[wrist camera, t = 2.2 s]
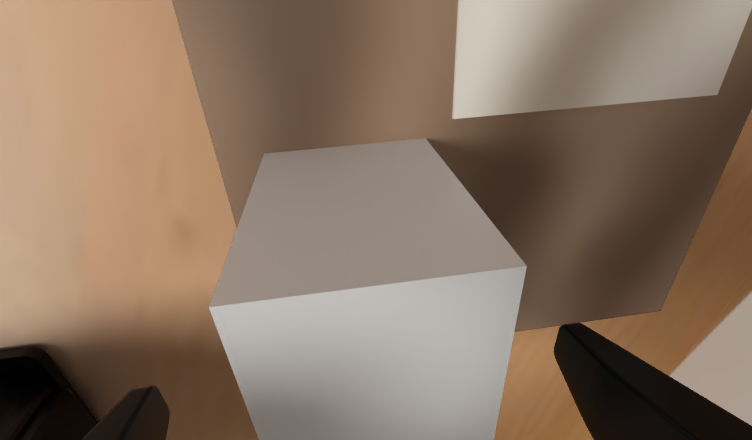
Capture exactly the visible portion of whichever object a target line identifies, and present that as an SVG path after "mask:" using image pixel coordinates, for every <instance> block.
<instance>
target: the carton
mask: <svg viewBox="0 0 752 440" xmlns="http://www.w3.org/2000/svg"><path fill="white" fill-rule="evenodd" d="M526 268H527V266H526V264H525V263H524V262H523V261H522V259H521V258H520V257H519V256H518V254H517V253H516V252H515V251H514V249H513V248H512V247H511V245H510V244H509V243H508V242H507V240H506V239H505V238H504V237H503V235H502V234H501V233H500V232H499V230H498V229H497V228H496V227H495V225H494V224H493V223H492V221H491V220H490V219H489V218H488V216H487V215H486V214H485V213H484V211H483V210H482V209H481V208H480V206H479V205H478V204H477V203H476V201H475V200H474V199H473V197H472V196H471V195H470V194H469V192H468V191H467V190H466V189H465V187H464V186H463V185H462V184H461V182H460V181H459V180H458V179H457V177H456V176H455V175H454V174H453V172H452V171H451V170H450V168H449V167H448V166H447V165H446V163H445V162H444V161H443V160H442V158H441V157H440V156H439V155H438V153H437V152H436V151H435V150H434V148H433V147H432V146H431V144H430V143H429V142H428V141H427V139H426V138H422V139H412V140H401V141H391V142H381V143H370V144H360V145H349V146H339V147H328V148H318V149H308V150H297V151H287V152H276V153H266V154H264V155H263V158H262V161H261V163H260V166H259V169H258V172H257V175H256V177H255V180H254V183H253V186H252V188H251V191H250V194H249V197H248V200H247V202H246V205H245V208H244V211H243V213H242V216H241V219H240V222H239V225H238V227H237V230H236V233H235V236H234V239H233V241H232V244H231V247H230V250H229V252H228V255H227V258H226V261H225V264H224V266H223V269H222V272H221V275H220V277H219V280H218V283H217V286H216V289H215V291H214V294H213V297H212V300H211V303H210V305H209V309H210V312H211V315H212V317H213V320H214V323H215V325H216V328H217V330H218V333H219V336H220V338H221V341H222V344H223V346H224V349H225V352H226V354H227V357H228V360H229V362H230V365H231V367H232V370H233V373H234V375H235V378H236V381H237V383H238V386H239V389H240V391H241V394H242V397H243V399H244V402H245V405H246V407H247V410H248V412H249V415H250V418H251V420H252V423H253V426H254V428H255V431H256V434H257V436H258V439H259V440H494V437H495V431H496V426H497V421H498V415H499V410H500V405H501V400H502V394H503V389H504V384H505V379H506V373H507V368H508V363H509V358H510V352H511V347H512V342H513V337H514V331H515V326H516V321H517V315H518V310H519V305H520V300H521V294H522V289H523V284H524V279H525V273H526Z"/></svg>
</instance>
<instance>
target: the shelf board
mask: <svg viewBox="0 0 752 440" xmlns="http://www.w3.org/2000/svg"><path fill="white" fill-rule="evenodd" d="M172 3H173V6H174V10H175V13H176V17H177V20H178V24H179V27H180V31H181V34H182V38H183V41H184V45H185V48H186V52H187V55H188V59H189V62H190V66H191V69H192V73H193V76H194V80H195V83H196V87H197V90H198V94H199V97H200V101H201V104H202V108H203V111H204V115H205V118H206V122H207V125H208V129H209V132H210V136H211V139H212V143H213V146H214V150H215V153H216V157H217V160H218V164H219V167H220V171H221V174H222V178H223V181H224V185H225V188H226V192H227V195H228V199H229V202H230V206H231V209H232V213H233V216H234V220H235V223H236V227H238V225H239V222H240V219H241V216H242V213H243V211H244V208H245V205H246V202H247V200H248V197H249V194H250V191H251V188H252V186H253V183H254V180H255V177H256V175H257V172H258V169H259V166H260V163H261V161H262V158H263V155H264V154H266V153H276V152H287V151H297V150H308V149H318V148H328V147H339V146H349V145H360V144H370V143H381V142H391V141H401V140H412V139H422V138H426V139H427V141H428V142H429V143H430V144H431V146H432V147H433V148H434V150H435V151H436V152H437V153H438V155H439V156H440V157H441V158H442V160H443V161H444V162H445V163H446V165H447V166H448V167H449V168H450V170H451V171H452V172H453V174H454V175H455V176H456V177H457V179H458V180H459V181H460V182H461V184H462V185H463V186H464V187H465V189H466V190H467V191H468V192H469V194H470V195H471V196H472V197H473V199H474V200H475V201H476V203H477V204H478V205H479V206H480V208H481V209H482V210H483V211H484V213H485V214H486V215H487V216H488V218H489V219H490V220H491V221H492V223H493V224H494V225H495V227H496V228H497V229H498V230H499V232H500V233H501V234H502V235H503V237H504V238H505V239H506V240H507V242H508V243H509V244H510V245H511V247H512V248H513V249H514V251H515V252H516V253H517V254H518V256H519V257H520V258H521V259H522V261H523V262H524V263H525V264H526V266H527V268H526V273H525V279H524V284H523V289H522V294H521V300H520V305H519V310H518V315H517V321H516V326H515V331H514V332H518V331H525V330H532V329H539V328H546V327H552V326H559V325H563V324H569V323H580V322H587V321H594V320H601V319H607V318H614V317H621V316H628V315H635V314H642V313H649V312H656V311H660V310H661V308H662V306H663V303H664V301H665V299H666V297H667V295H668V292H669V290H670V288H671V286H672V283H673V281H674V279H675V277H676V275H677V272H678V270H679V268H680V266H681V264H682V261H683V259H684V257H685V255H686V252H687V250H688V248H689V246H690V244H691V241H692V239H693V237H694V235H695V233H696V230H697V228H698V226H699V224H700V221H701V219H702V217H703V215H704V213H705V210H706V208H707V206H708V204H709V201H710V199H711V197H712V195H713V193H714V190H715V188H716V186H717V184H718V182H719V179H720V177H721V175H722V173H723V170H724V168H725V166H726V164H727V162H728V159H729V157H730V155H731V153H732V151H733V148H734V146H735V144H736V142H737V139H738V137H739V135H740V133H741V131H742V128H743V126H744V124H745V122H746V119H747V117H748V115H749V113H750V111H751V108H752V0H172Z"/></svg>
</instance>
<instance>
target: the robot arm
mask: <svg viewBox="0 0 752 440" xmlns="http://www.w3.org/2000/svg"><path fill="white" fill-rule="evenodd" d="M554 355H555V358H556V361H557V363H558V365H559V368H560V370H561V372H562V374H563V376H564V379H565V381H566V383H567V385H568V387H569V390H570V392H571V394H572V396H573V399H574V401H575V403H576V405H577V407H578V410H579V412H580V414H581V416H582V418H583V420H584V422H585V424H586V426H587V428H588V430H589V431H590V433H591V435H592V437H593V439H594V440H752V426H751V425H749V424H748V423H746V422H744V421H742V420H741V419H739V418H737V417H736V416H734V415H733V414H731V413H729V412H727V411H726V410H724V409H723V408H721V407H719V406H717V405H716V404H714V403H713V402H711V401H709V400H708V399H706V398H704V397H703V396H701V395H699V394H698V393H696V392H694V391H693V390H691V389H689V388H688V387H686V386H684V385H683V384H681V383H679V382H678V381H676V380H674V379H673V378H671V377H670V376H668V375H666V374H665V373H663V372H661V371H660V370H658V369H656V368H655V367H653V366H651V365H650V364H648V363H646V362H645V361H643V360H641V359H640V358H638V357H636V356H635V355H633V354H631V353H630V352H628V351H626V350H625V349H623V348H621V347H620V346H618V345H616V344H615V343H613V342H611V341H610V340H608V339H606V338H605V337H603V336H601V335H600V334H598V333H596V332H595V331H593V330H591V329H590V328H588V327H586V326H585V325H583V324H581V323H569V324H563V325H562V326H561V327H560V328H559V331H558V335H557V339H556V342H555V346H554ZM169 415H170V414H169V408H168V406H167V404H166V402H165V400H164V398H163V397H162V395H161V393H160V391H159V389H158V388H157V387H156V386H154V385H148V386H141V387H136V388H134V389H132V390H131V391H129V392H128V393H127V394H126V395H125V396H124V397H123V398H122V399H121V400H120V401H119V402H118V403H117V404H116V405H115V406H114V407H113V408H112V409H111V410H110V411H109V413H108V414H107V415H106V416H105V417H104V418H103V419H102V420H101V421H100V422H99V423H98V422H97V420H96V419H95V417H94V416H93V415H92V413H91V412H90V411H89V409H88V408H87V407H86V405H85V404H84V402H83V401H82V400H81V398H80V397H79V396H78V394H77V393H76V392H75V390H74V389H73V388H72V386H71V385H70V383H69V382H68V381H67V379H66V378H65V377H64V375H63V374H62V373H61V371H60V370H59V369H58V367H57V366H56V364H55V363H54V362H53V360H52V359H51V358H50V356H49V355H48V354H47V353H46V352H45V351H43V350H41V349H37V348H22V349H15V350H7V351H0V440H165V439H166V434H167V429H168V423H169Z"/></svg>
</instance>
